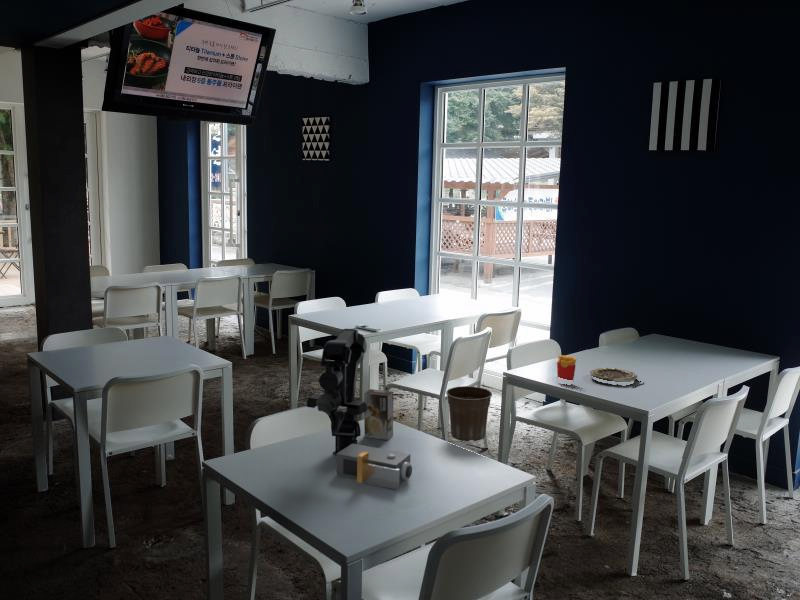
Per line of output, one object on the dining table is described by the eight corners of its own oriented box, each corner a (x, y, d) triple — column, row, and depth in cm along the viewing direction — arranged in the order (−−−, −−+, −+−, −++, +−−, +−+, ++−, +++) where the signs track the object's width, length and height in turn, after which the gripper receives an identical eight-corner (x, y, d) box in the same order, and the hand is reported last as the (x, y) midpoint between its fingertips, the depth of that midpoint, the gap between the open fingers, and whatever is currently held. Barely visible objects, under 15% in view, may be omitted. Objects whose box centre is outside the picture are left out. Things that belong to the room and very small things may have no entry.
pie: (622, 392, 316) (622, 381, 315) (570, 381, 336) (570, 370, 335) (654, 382, 335) (654, 372, 334) (603, 372, 355) (603, 362, 354)
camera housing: (336, 475, 216) (336, 451, 215) (352, 464, 225) (352, 441, 224) (401, 489, 207) (402, 464, 205) (416, 477, 216) (416, 453, 215)
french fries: (554, 382, 330) (556, 355, 328) (560, 380, 333) (561, 353, 331) (571, 386, 323) (573, 358, 321) (576, 384, 326) (578, 357, 324)
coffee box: (394, 435, 254) (394, 391, 251) (387, 440, 248) (388, 395, 245) (369, 431, 257) (370, 388, 254) (363, 437, 251) (363, 393, 248)
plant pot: (480, 447, 243) (481, 401, 241) (437, 438, 251) (438, 394, 248) (497, 433, 257) (499, 390, 255) (456, 426, 265) (457, 384, 262)
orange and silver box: (357, 487, 207) (357, 455, 205) (365, 481, 211) (365, 450, 210) (391, 494, 202) (391, 462, 201) (399, 488, 207) (399, 456, 205)
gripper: (296, 384, 215) (296, 434, 217) (350, 392, 207) (349, 444, 209) (315, 376, 225) (315, 424, 227) (368, 383, 217) (367, 433, 219)
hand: (336, 431), depth 220 cm, fingers closed
